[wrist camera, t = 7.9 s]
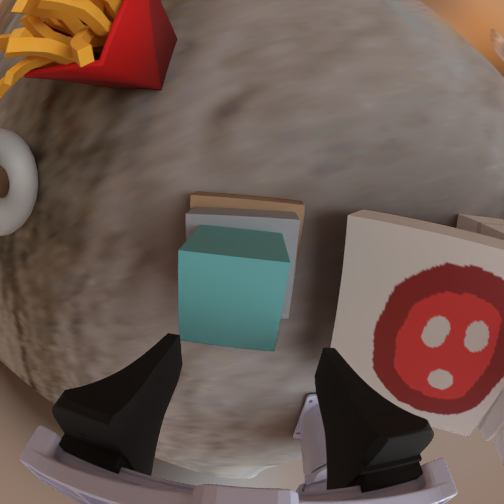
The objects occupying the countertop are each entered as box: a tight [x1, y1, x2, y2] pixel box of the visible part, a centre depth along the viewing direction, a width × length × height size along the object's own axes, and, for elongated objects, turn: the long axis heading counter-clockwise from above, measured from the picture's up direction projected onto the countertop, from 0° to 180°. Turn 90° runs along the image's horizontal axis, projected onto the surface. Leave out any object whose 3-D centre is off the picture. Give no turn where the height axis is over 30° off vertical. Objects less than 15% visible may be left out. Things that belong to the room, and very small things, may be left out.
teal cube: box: [178, 224, 290, 351], centre depth 15 cm, size 5×5×5 cm
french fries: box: [0, 0, 177, 98], centre depth 10 cm, size 9×8×15 cm
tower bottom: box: [190, 192, 305, 297], centre depth 21 cm, size 8×8×2 cm
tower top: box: [186, 207, 300, 319], centre depth 19 cm, size 7×7×2 cm
